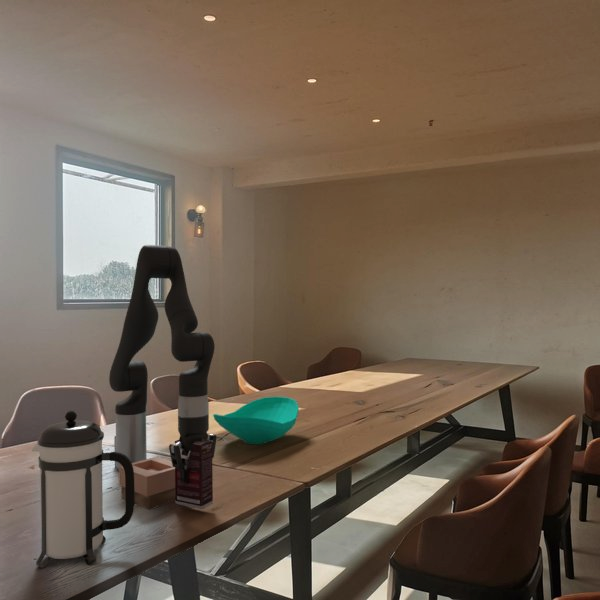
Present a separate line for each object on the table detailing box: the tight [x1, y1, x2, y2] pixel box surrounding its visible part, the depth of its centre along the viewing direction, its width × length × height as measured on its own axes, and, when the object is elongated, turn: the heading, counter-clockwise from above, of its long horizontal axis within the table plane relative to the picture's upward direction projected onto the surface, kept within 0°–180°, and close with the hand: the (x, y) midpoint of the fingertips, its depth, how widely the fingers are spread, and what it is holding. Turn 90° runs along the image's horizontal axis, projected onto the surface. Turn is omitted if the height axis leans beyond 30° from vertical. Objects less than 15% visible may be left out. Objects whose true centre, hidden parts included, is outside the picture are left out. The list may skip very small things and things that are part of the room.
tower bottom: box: [121, 486, 175, 511], centre depth 150 cm, size 12×12×4 cm
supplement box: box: [174, 439, 214, 510], centre depth 140 cm, size 9×5×16 cm, turn 62°
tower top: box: [118, 456, 175, 497], centre depth 150 cm, size 13×12×5 cm
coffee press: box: [31, 410, 135, 569], centre depth 118 cm, size 17×16×30 cm
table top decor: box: [212, 396, 300, 445], centre depth 206 cm, size 40×28×13 cm
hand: (193, 480), depth 140 cm, fingers closed on supplement box, 5 cm apart
